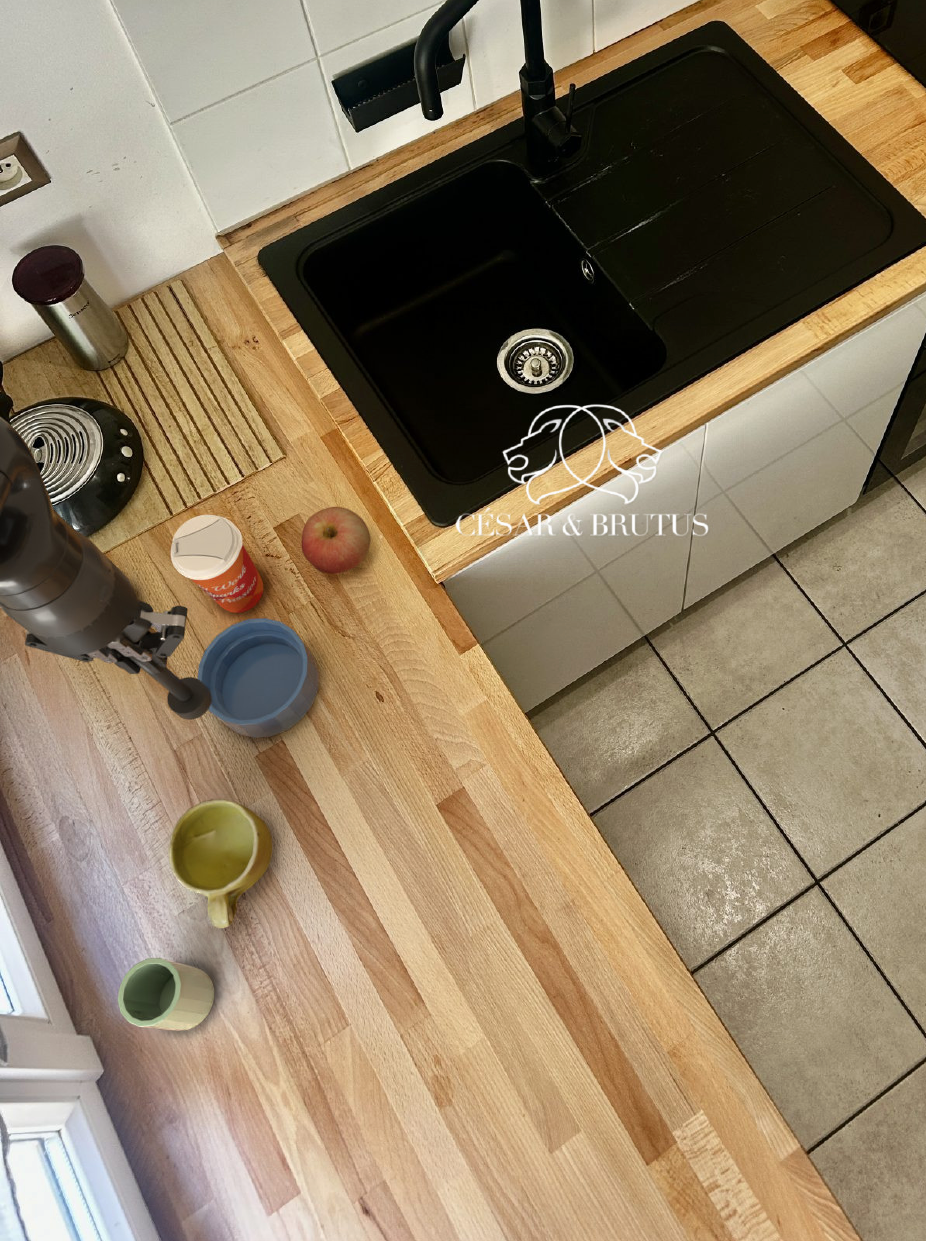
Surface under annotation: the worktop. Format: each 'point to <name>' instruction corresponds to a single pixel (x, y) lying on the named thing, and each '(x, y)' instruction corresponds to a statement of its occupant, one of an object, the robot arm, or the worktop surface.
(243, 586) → the paper cup
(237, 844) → the mug
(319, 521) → the apple
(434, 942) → the worktop surface
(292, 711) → the bowl
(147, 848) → the worktop surface
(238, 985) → the worktop surface
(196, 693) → the black pestle
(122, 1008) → the utensil jar
